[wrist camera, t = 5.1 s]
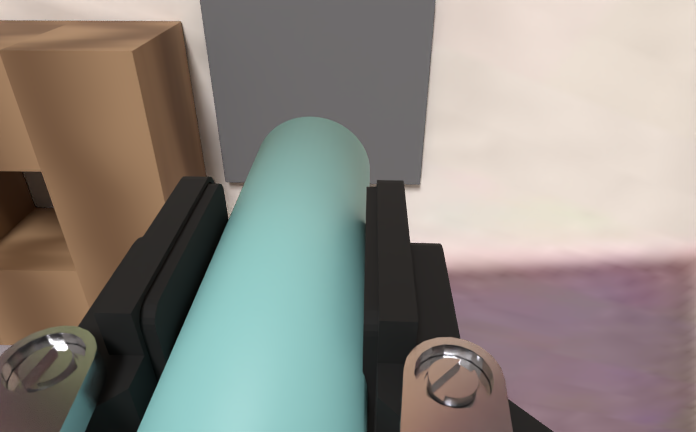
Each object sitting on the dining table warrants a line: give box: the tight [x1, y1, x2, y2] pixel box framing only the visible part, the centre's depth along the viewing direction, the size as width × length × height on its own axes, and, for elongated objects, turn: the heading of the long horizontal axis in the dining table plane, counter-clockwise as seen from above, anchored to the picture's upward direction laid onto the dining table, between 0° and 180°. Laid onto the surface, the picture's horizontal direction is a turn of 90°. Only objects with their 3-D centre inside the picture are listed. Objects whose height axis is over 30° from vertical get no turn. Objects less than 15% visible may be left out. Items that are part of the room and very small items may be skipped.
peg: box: [137, 117, 370, 432], centre depth 9 cm, size 3×3×10 cm
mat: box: [200, 0, 435, 184], centre depth 21 cm, size 9×8×1 cm
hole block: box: [0, 21, 206, 345], centre depth 21 cm, size 13×13×5 cm
